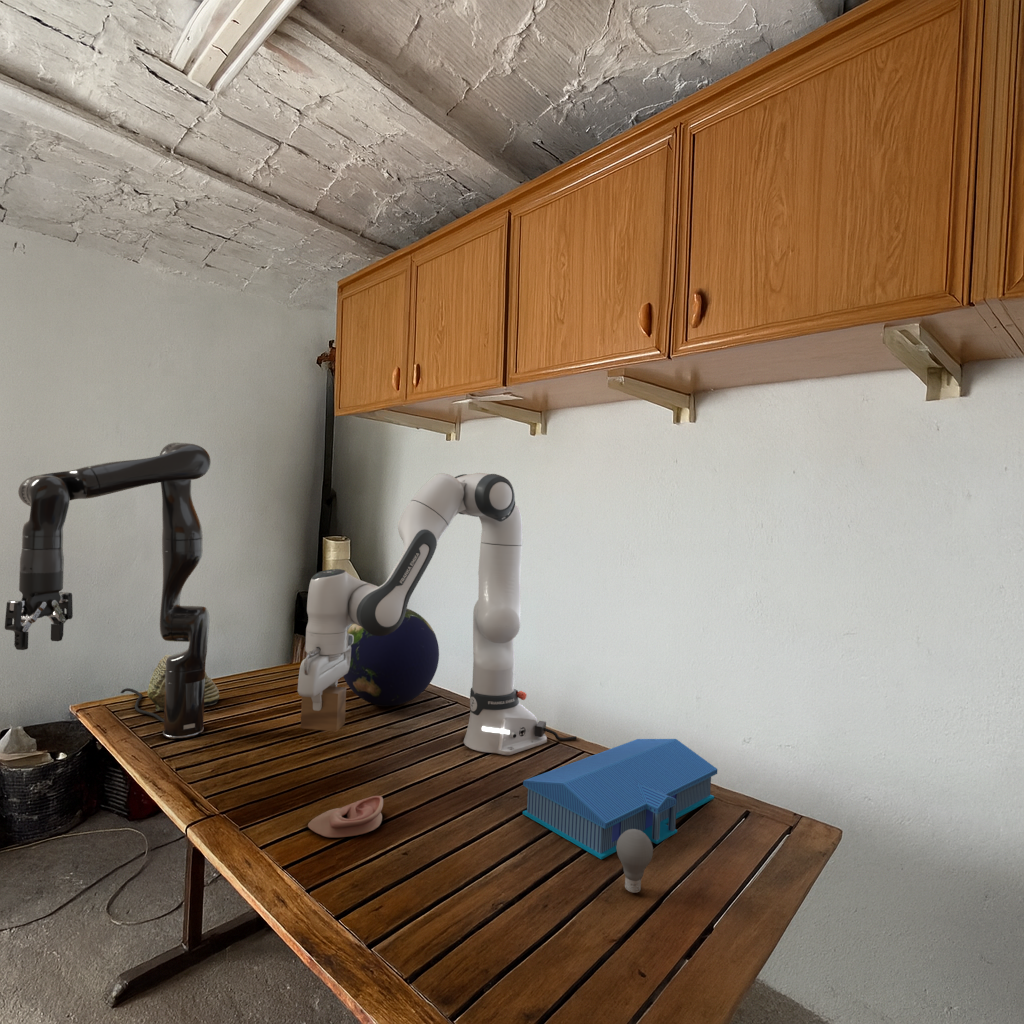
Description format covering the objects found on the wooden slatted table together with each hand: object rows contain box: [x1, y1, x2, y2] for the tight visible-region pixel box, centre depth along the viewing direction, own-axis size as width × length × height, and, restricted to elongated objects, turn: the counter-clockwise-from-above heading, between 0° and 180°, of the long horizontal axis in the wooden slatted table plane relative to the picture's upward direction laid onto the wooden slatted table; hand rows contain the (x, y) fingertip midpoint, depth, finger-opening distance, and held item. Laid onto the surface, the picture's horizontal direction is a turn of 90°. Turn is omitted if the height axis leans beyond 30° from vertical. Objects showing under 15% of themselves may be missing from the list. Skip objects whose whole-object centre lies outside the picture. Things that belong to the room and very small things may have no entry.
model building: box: [522, 738, 718, 860], centre depth 134 cm, size 39×24×10 cm, turn 132°
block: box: [300, 686, 347, 732], centre depth 140 cm, size 5×8×8 cm, turn 83°
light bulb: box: [616, 829, 654, 894], centre depth 106 cm, size 6×6×10 cm
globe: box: [342, 608, 440, 707], centre depth 194 cm, size 30×30×30 cm
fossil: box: [147, 654, 221, 712], centre depth 185 cm, size 9×18×15 cm, turn 132°
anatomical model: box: [307, 795, 384, 839], centre depth 123 cm, size 13×4×12 cm
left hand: (39, 645), depth 135 cm, fingers open, 8 cm apart
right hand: (323, 705), depth 140 cm, fingers closed on block, 5 cm apart
